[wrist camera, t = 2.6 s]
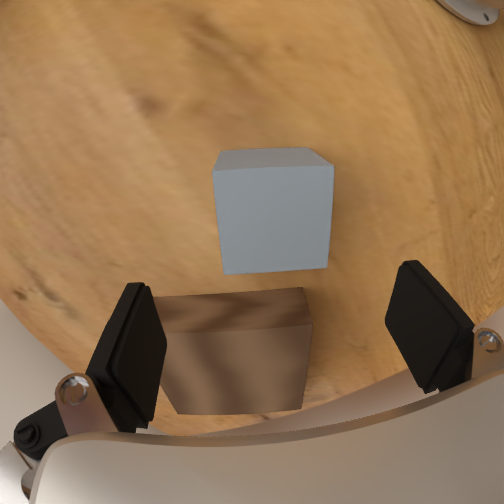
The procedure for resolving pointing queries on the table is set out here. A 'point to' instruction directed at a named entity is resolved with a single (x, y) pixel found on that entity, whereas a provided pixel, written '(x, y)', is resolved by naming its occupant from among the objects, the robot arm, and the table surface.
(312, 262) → the slate cube
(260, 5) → the table surface
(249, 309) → the walnut block
